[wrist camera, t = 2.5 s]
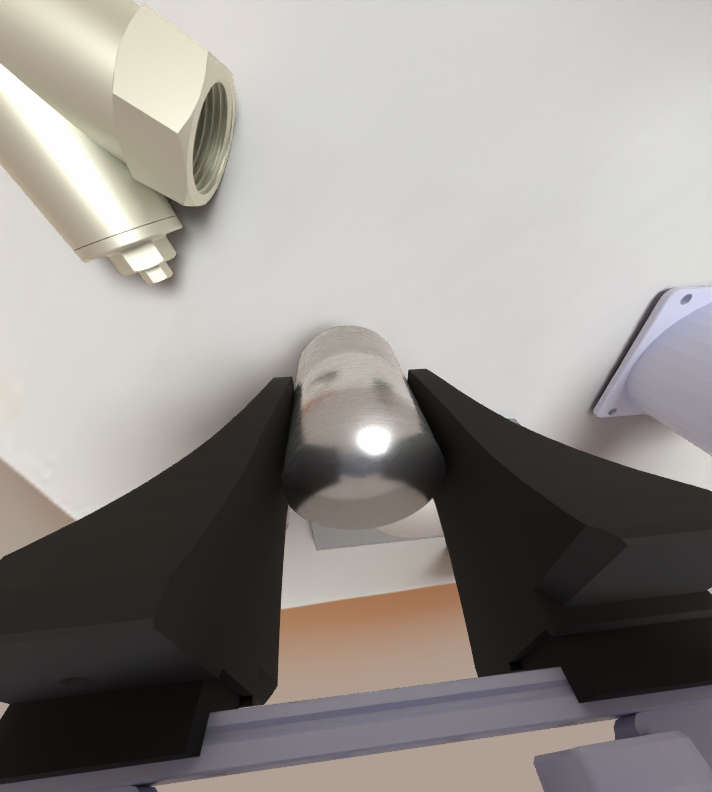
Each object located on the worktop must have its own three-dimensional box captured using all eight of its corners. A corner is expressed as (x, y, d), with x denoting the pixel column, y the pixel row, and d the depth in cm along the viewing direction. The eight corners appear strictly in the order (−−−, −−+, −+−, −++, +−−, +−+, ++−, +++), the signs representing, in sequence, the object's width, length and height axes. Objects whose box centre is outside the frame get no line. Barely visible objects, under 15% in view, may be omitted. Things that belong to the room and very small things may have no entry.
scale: (514, 418, 18) (527, 433, 17) (473, 522, 25) (480, 537, 24) (297, 436, 17) (295, 452, 16) (316, 538, 24) (316, 555, 23)
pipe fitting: (203, 282, 12) (246, 86, 9) (159, 318, 9) (198, 40, 6) (-46, 166, 9) (-132, -192, 6) (-226, 162, 6) (-623, -575, 3)
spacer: (399, 322, 10) (460, 414, 6) (393, 408, 13) (433, 521, 8) (290, 328, 10) (266, 430, 6) (304, 415, 12) (294, 537, 8)
